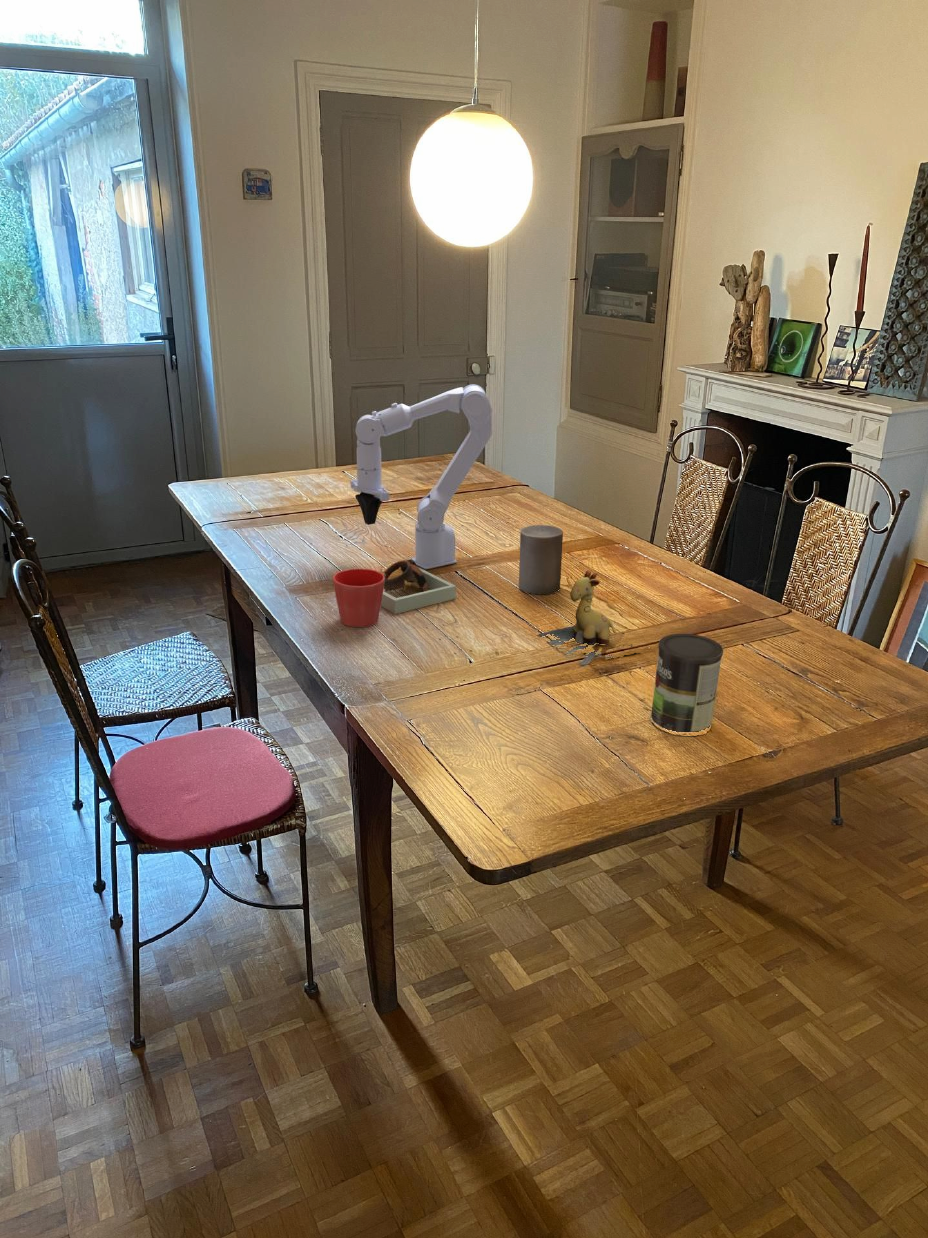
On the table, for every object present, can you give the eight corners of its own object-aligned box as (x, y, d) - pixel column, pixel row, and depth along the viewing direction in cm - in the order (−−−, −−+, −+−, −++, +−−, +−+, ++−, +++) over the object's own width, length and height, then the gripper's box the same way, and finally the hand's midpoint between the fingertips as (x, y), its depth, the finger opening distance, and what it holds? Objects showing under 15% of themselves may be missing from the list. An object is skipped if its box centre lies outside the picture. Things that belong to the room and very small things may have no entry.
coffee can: (659, 738, 153) (668, 659, 148) (643, 708, 163) (651, 633, 157) (721, 736, 154) (732, 658, 149) (701, 707, 163) (711, 632, 158)
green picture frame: (413, 576, 221) (413, 564, 220) (455, 598, 209) (455, 585, 207) (354, 590, 212) (353, 577, 211) (394, 613, 200) (394, 600, 199)
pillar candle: (566, 584, 218) (569, 522, 213) (551, 598, 210) (554, 533, 204) (527, 578, 222) (529, 517, 216) (511, 591, 214) (513, 527, 208)
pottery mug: (430, 602, 208) (412, 574, 204) (393, 616, 211) (374, 589, 206) (434, 571, 217) (417, 544, 213) (398, 585, 220) (381, 558, 216)
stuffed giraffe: (536, 635, 191) (544, 561, 185) (609, 624, 199) (619, 553, 192) (579, 669, 178) (589, 591, 172) (655, 656, 186) (668, 581, 179)
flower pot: (393, 614, 199) (393, 571, 195) (372, 634, 190) (371, 588, 186) (348, 607, 202) (347, 565, 199) (325, 626, 193) (323, 581, 189)
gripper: (338, 463, 224) (340, 518, 229) (370, 476, 213) (371, 533, 218) (364, 460, 228) (365, 514, 233) (396, 472, 217) (397, 528, 222)
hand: (370, 523), depth 226 cm, fingers closed
